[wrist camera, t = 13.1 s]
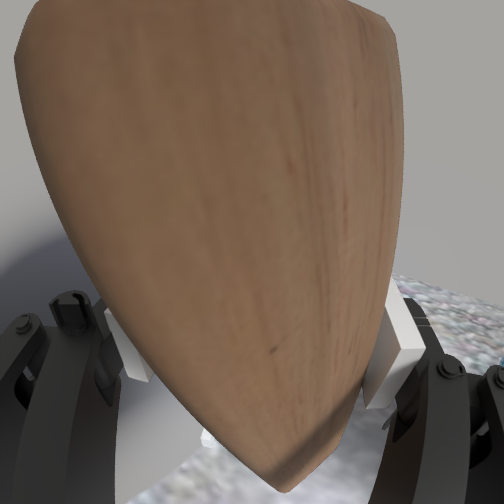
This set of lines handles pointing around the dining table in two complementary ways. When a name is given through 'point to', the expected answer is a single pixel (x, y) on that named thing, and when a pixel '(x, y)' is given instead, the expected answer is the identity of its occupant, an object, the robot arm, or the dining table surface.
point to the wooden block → (229, 198)
